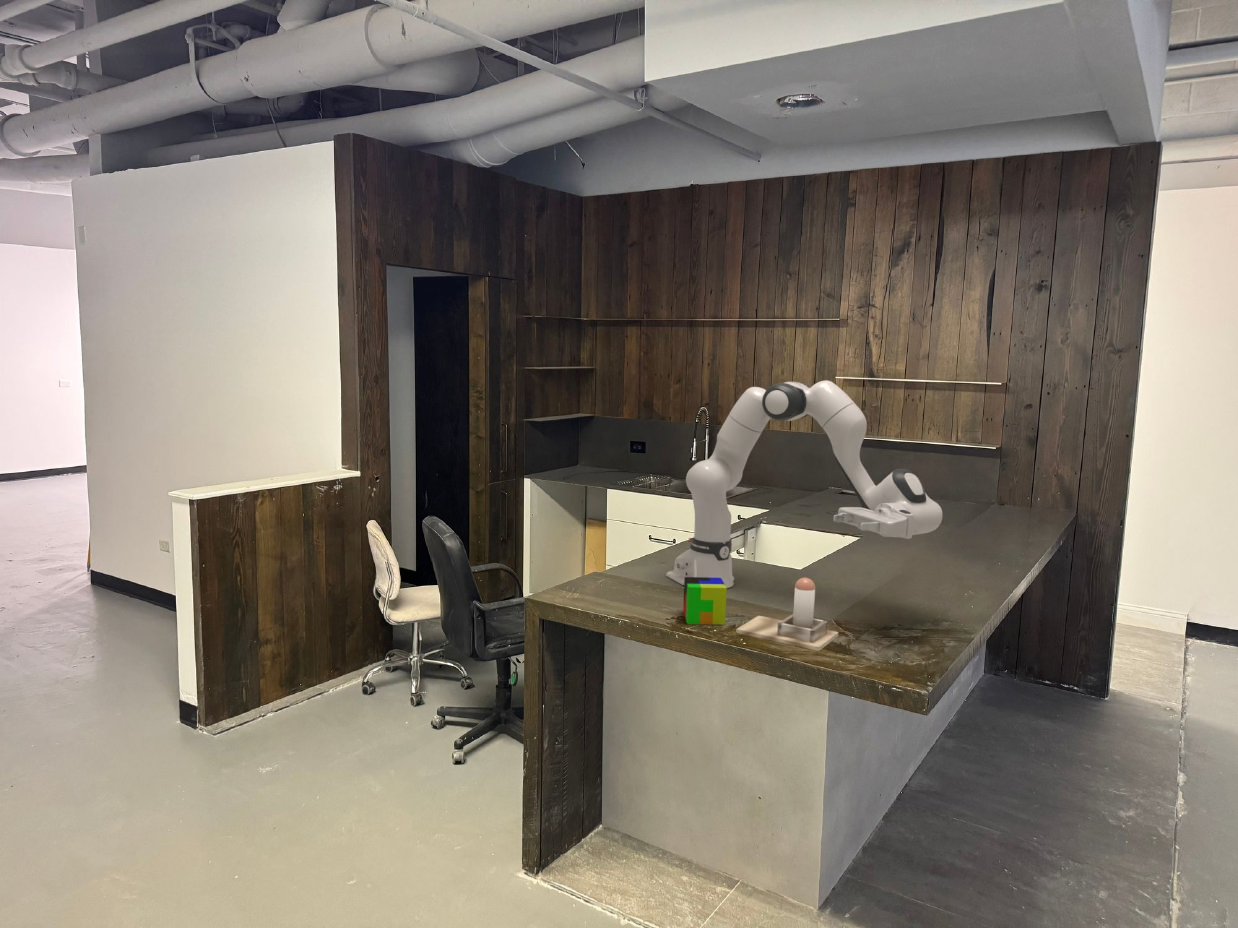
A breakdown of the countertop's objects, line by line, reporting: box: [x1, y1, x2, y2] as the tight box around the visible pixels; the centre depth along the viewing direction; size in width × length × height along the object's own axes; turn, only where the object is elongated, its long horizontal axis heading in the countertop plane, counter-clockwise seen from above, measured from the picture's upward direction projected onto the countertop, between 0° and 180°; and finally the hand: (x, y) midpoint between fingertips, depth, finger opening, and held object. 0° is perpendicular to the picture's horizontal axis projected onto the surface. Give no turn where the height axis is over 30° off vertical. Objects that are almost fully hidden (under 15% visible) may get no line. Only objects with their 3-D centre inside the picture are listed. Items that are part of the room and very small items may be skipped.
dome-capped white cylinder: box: [792, 577, 816, 629], centre depth 215 cm, size 5×5×14 cm
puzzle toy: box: [682, 577, 728, 626], centre depth 229 cm, size 10×10×10 cm
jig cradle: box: [735, 613, 839, 652], centre depth 218 cm, size 22×14×4 cm, turn 57°
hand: (847, 522), depth 217 cm, fingers open, 8 cm apart
